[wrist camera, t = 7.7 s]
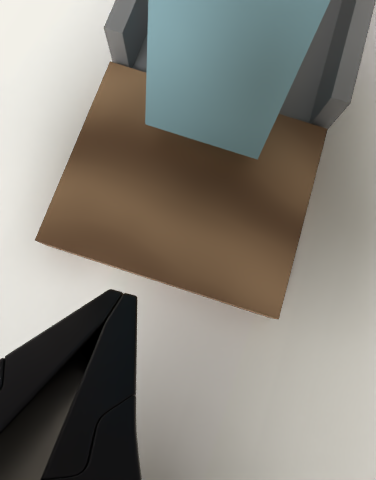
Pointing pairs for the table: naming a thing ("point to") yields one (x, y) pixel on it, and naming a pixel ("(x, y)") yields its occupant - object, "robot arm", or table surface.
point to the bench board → (184, 201)
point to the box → (309, 74)
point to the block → (225, 66)
